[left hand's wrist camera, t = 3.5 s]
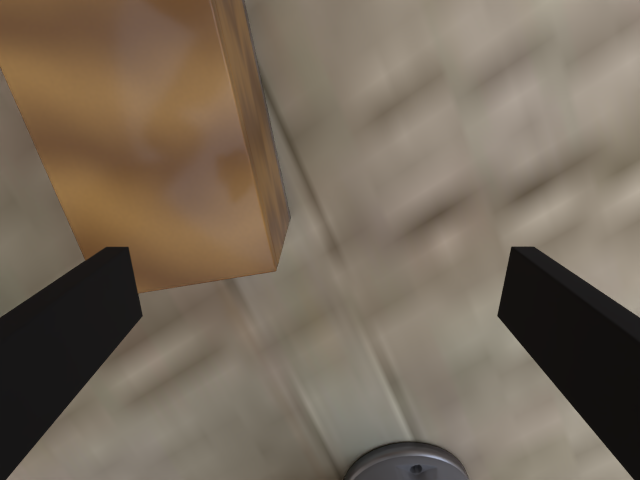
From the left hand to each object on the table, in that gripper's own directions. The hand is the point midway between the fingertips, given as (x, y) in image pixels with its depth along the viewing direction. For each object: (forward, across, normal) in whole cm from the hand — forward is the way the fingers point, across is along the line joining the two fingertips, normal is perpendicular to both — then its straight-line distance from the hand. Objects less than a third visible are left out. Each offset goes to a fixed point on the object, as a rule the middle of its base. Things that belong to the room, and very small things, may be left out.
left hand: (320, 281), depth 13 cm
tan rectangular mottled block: (+19, +10, -4) cm, 22 cm away
